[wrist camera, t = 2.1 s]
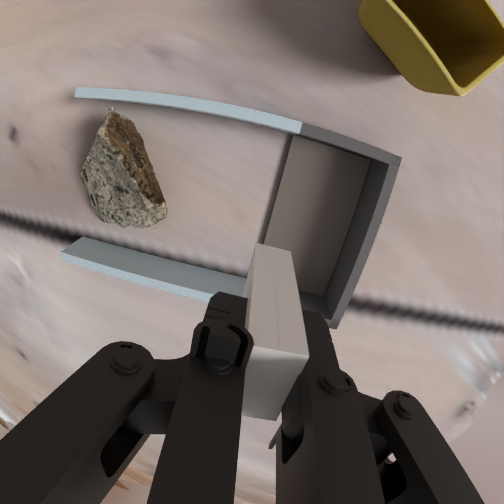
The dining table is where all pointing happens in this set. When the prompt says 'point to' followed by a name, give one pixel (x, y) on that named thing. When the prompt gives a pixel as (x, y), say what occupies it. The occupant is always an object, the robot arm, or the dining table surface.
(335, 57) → the dining table surface
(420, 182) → the dining table surface
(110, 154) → the rock sample
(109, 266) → the strips
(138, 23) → the dining table surface
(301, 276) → the grey open box
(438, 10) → the flower pot
